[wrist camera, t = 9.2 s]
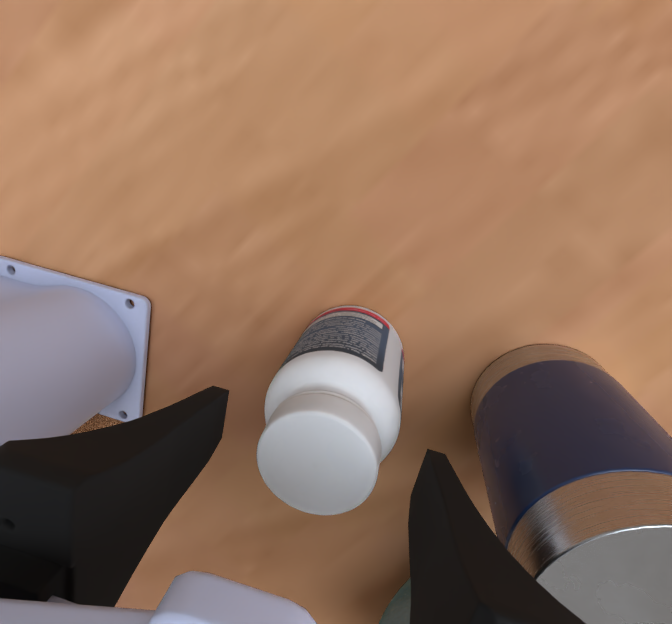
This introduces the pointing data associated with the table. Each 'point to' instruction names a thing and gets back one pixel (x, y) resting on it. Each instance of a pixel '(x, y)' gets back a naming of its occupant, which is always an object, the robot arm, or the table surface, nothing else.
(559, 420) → the tin can
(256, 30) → the table surface
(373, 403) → the pill bottle
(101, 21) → the table surface
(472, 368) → the table surface
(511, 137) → the table surface
